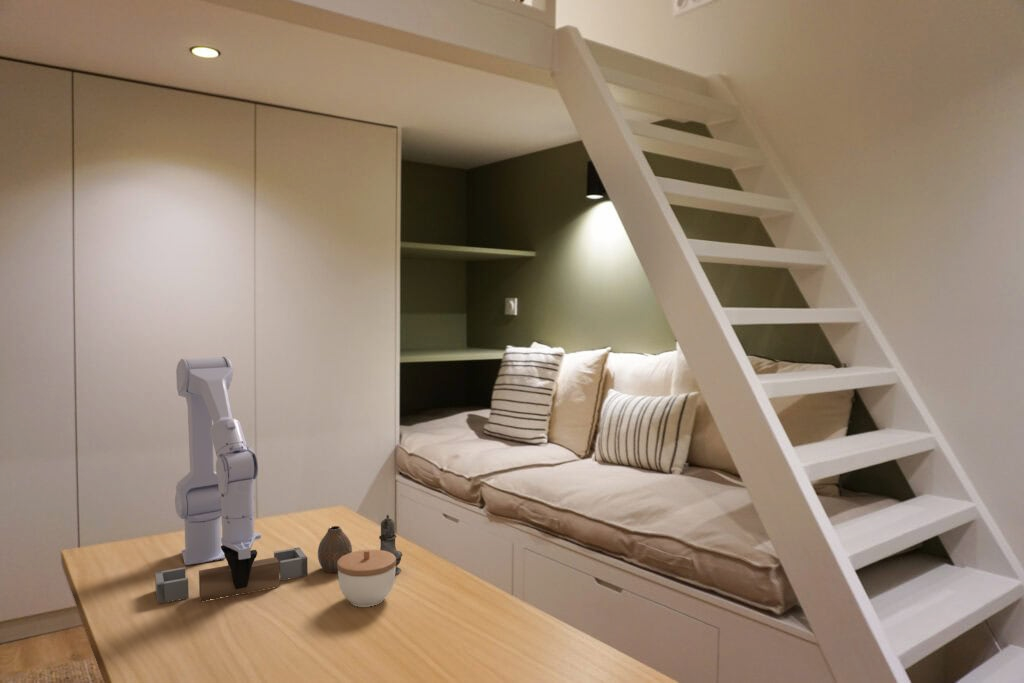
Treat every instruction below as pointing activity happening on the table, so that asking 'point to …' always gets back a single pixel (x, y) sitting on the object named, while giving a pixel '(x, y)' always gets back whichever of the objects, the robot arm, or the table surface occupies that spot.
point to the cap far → (292, 563)
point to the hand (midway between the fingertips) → (239, 584)
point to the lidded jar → (366, 576)
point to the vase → (333, 548)
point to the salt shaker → (390, 540)
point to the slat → (221, 580)
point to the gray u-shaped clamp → (171, 585)
